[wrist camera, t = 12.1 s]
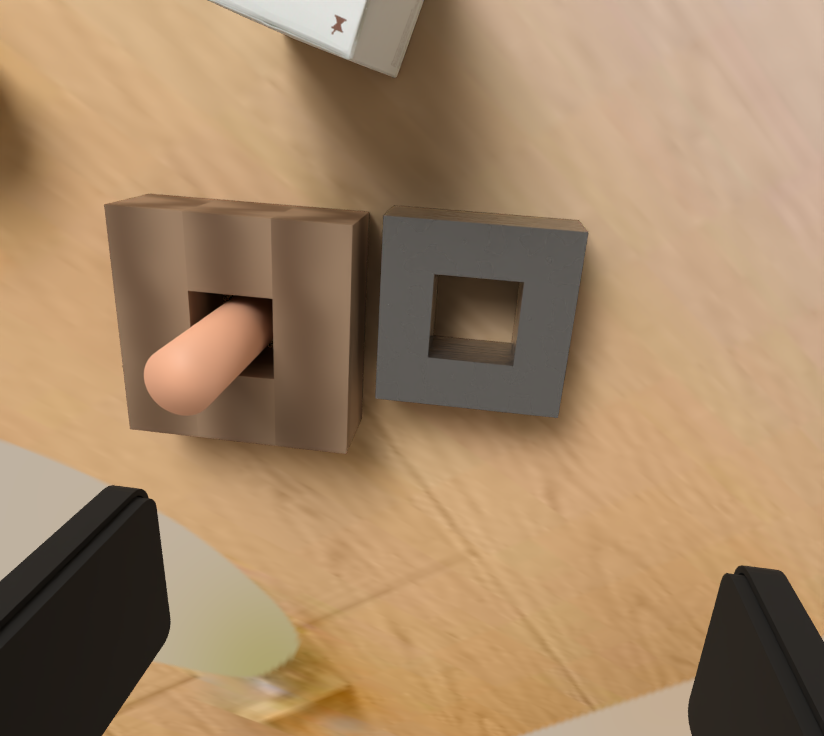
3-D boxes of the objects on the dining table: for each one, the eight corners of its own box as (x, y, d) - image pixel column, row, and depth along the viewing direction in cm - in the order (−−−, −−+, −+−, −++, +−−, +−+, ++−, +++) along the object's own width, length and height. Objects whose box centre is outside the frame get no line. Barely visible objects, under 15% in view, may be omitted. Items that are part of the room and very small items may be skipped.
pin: (288, 287, 42) (213, 351, 30) (288, 339, 43) (216, 419, 32) (234, 282, 42) (140, 343, 31) (236, 334, 43) (147, 411, 32)
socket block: (369, 211, 39) (352, 225, 35) (361, 418, 44) (346, 453, 40) (148, 193, 40) (104, 204, 36) (167, 396, 46) (130, 429, 41)
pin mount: (579, 220, 38) (588, 232, 34) (552, 391, 42) (557, 417, 38) (394, 205, 39) (383, 215, 35) (385, 373, 43) (375, 398, 39)
